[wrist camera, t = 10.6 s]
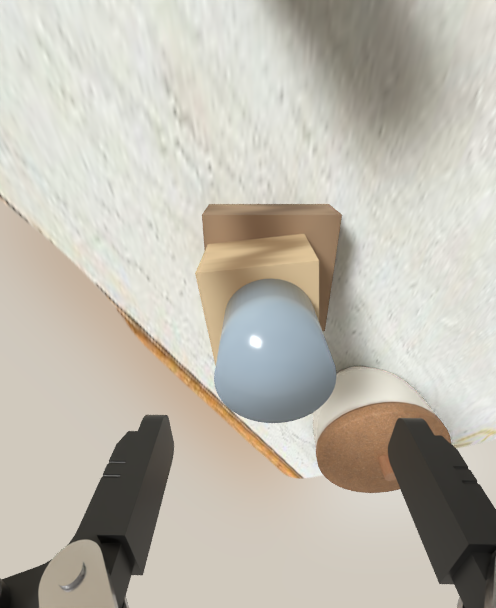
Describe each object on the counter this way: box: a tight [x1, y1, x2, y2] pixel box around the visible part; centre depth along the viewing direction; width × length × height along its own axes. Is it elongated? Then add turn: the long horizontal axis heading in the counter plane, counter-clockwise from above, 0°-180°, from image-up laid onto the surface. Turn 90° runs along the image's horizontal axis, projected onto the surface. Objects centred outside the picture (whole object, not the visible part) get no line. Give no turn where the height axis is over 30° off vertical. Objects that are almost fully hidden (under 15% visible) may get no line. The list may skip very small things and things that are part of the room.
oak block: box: [195, 234, 319, 365], centre depth 19 cm, size 6×6×5 cm
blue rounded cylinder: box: [214, 278, 336, 423], centre depth 15 cm, size 5×5×5 cm
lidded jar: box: [313, 366, 451, 493], centre depth 27 cm, size 11×11×9 cm
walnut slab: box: [202, 204, 342, 331], centre depth 23 cm, size 9×9×4 cm
